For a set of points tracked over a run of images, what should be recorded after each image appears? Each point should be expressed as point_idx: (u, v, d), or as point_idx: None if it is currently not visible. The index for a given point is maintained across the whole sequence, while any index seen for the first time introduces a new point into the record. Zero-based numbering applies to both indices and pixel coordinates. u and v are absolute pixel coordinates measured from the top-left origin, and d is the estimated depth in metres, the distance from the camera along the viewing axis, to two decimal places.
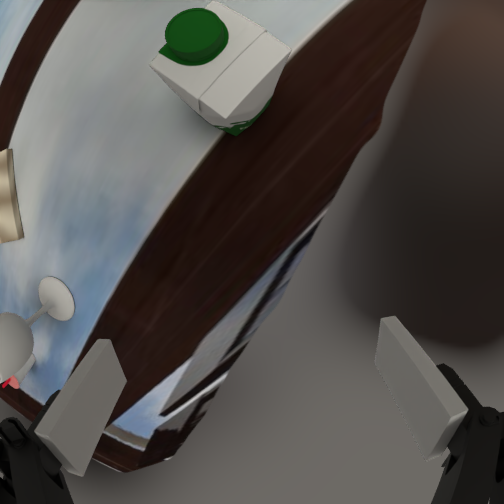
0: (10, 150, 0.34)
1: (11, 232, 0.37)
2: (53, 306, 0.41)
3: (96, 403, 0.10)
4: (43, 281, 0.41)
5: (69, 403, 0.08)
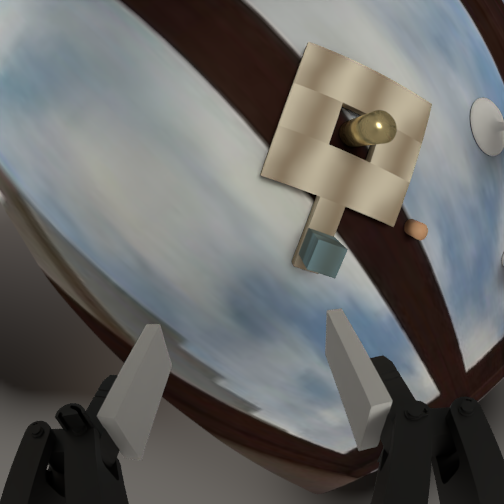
0: None
1: (419, 109, 0.26)
2: None
3: (151, 386, 0.11)
4: (474, 121, 0.27)
5: (130, 385, 0.10)
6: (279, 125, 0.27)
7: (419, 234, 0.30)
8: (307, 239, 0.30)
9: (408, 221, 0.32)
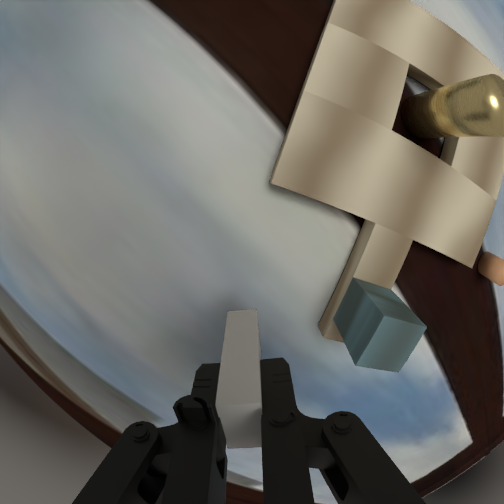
0: None
1: None
2: None
3: None
4: None
5: None
6: (305, 91, 0.14)
7: (501, 277, 0.16)
8: (352, 300, 0.16)
9: (484, 256, 0.18)
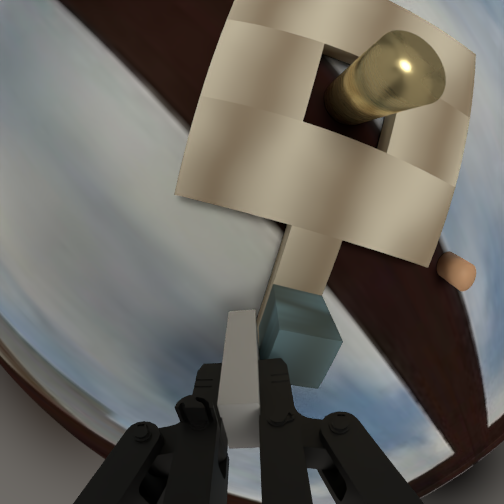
0: None
1: (459, 60, 0.12)
2: None
3: None
4: None
5: None
6: (202, 96, 0.14)
7: (463, 281, 0.16)
8: (269, 309, 0.16)
9: (444, 256, 0.17)
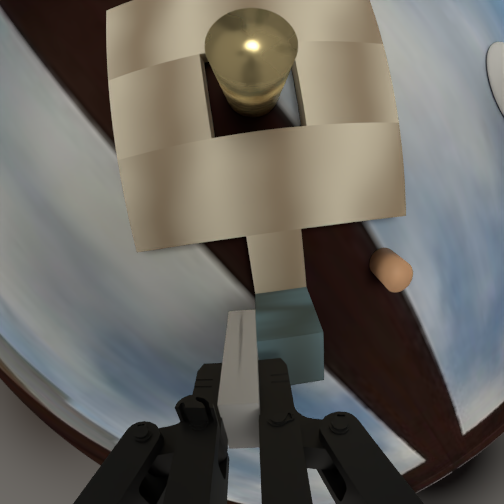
0: None
1: None
2: None
3: None
4: (493, 74, 0.13)
5: None
6: (119, 159, 0.15)
7: (395, 281, 0.16)
8: None
9: (377, 253, 0.18)
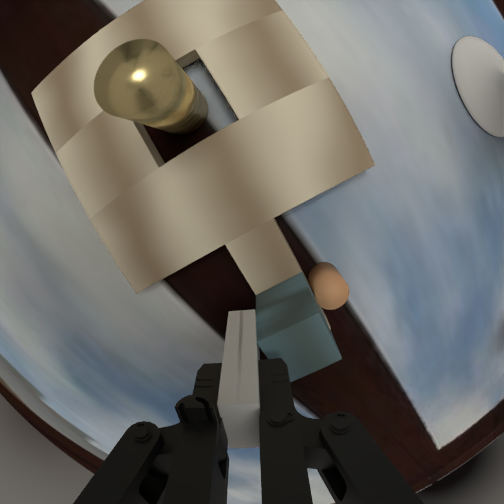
0: None
1: None
2: None
3: None
4: (459, 71, 0.13)
5: None
6: (90, 217, 0.16)
7: (329, 298, 0.16)
8: None
9: (314, 268, 0.18)
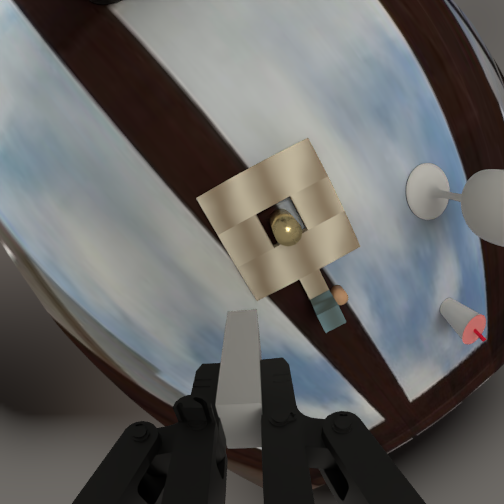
0: None
1: (304, 154, 0.35)
2: None
3: None
4: (409, 190, 0.37)
5: None
6: (237, 267, 0.39)
7: (340, 300, 0.39)
8: None
9: (333, 287, 0.41)
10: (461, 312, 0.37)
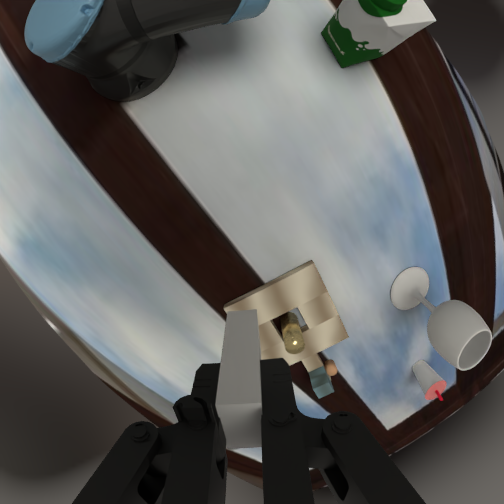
0: (225, 304, 0.48)
1: (309, 276, 0.45)
2: (418, 290, 0.46)
3: None
4: (393, 291, 0.47)
5: None
6: None
7: (331, 373, 0.50)
8: None
9: (326, 362, 0.52)
10: (427, 376, 0.48)
